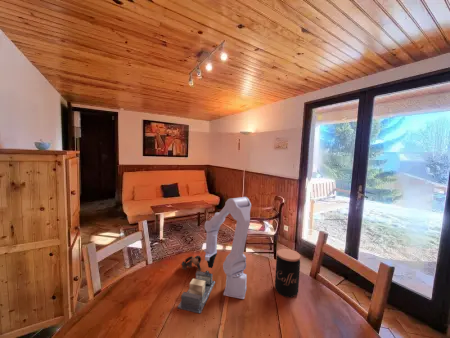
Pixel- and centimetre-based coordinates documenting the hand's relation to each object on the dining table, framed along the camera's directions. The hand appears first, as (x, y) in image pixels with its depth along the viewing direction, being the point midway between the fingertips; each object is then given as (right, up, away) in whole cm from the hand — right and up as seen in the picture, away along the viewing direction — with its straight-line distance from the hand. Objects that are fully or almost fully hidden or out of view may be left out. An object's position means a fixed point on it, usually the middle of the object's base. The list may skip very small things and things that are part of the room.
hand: (210, 267), depth 107 cm
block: (-5, -3, -18) cm, 19 cm away
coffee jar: (+37, -5, -13) cm, 39 cm away
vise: (-4, -3, -17) cm, 18 cm away
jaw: (-2, -2, -8) cm, 9 cm away
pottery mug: (-10, -2, +2) cm, 10 cm away
